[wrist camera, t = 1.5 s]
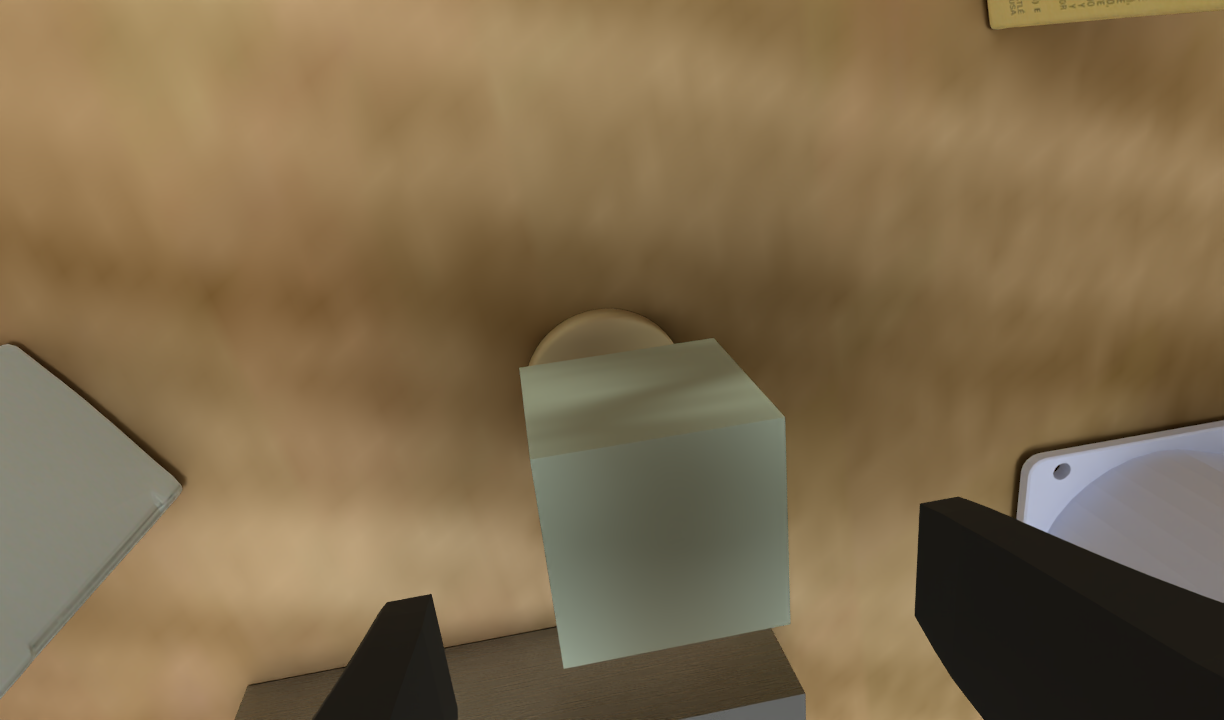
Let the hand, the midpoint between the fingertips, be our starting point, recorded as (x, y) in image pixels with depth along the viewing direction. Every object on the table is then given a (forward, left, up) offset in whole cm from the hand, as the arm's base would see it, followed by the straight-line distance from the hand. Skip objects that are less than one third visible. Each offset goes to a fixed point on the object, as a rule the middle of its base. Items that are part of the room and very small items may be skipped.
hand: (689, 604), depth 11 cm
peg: (0, 0, -9) cm, 9 cm away
